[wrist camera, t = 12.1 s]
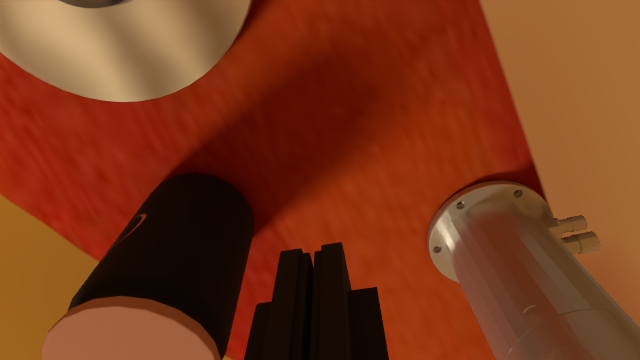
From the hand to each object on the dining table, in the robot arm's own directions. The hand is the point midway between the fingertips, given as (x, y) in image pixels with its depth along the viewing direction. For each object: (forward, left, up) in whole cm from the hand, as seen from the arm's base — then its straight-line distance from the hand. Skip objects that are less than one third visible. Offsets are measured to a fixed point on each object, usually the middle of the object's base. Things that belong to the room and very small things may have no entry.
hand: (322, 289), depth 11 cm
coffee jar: (+14, +11, -27) cm, 32 cm away
